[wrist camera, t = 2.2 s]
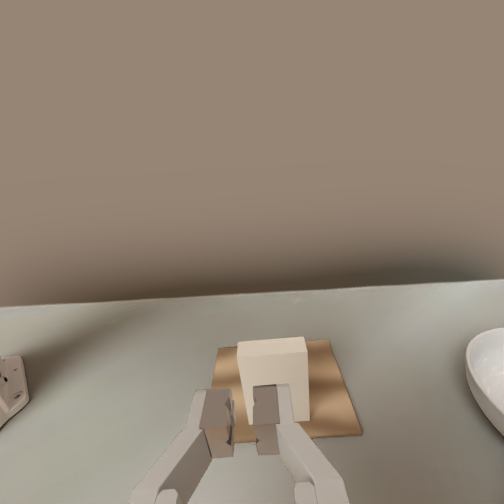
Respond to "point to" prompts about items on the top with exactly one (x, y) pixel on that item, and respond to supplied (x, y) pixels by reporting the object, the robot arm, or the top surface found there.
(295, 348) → the tile
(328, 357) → the wooden board
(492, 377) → the serving bowl
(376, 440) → the top surface
